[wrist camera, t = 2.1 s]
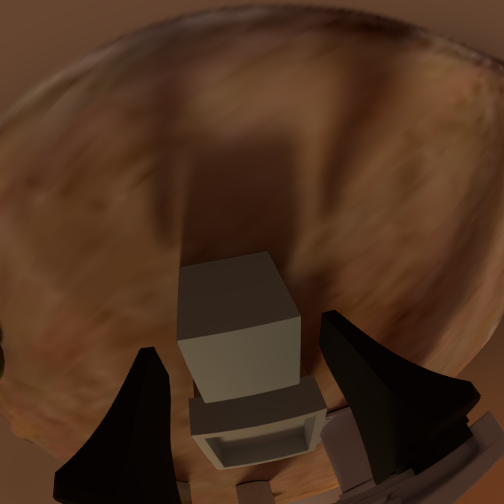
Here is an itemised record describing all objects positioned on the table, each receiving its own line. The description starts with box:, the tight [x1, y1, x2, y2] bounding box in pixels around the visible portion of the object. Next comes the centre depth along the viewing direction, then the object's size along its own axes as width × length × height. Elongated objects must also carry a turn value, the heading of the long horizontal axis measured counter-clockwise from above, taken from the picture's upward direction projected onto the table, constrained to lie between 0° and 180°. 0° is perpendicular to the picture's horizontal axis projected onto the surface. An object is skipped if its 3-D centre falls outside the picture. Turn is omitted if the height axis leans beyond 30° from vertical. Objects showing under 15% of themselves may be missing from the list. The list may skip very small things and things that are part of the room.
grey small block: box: [177, 251, 301, 403], centre depth 13 cm, size 4×4×5 cm
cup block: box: [189, 375, 328, 470], centre depth 16 cm, size 8×8×3 cm
